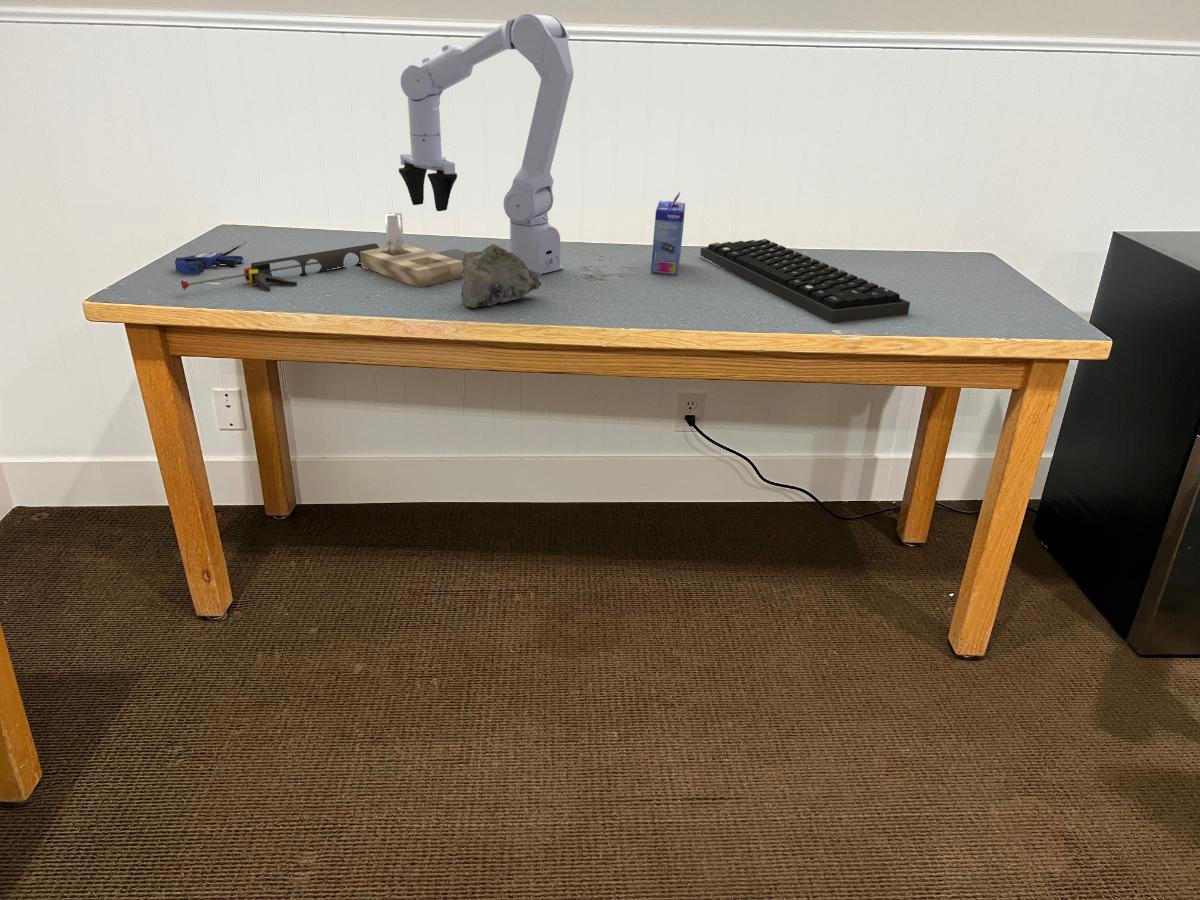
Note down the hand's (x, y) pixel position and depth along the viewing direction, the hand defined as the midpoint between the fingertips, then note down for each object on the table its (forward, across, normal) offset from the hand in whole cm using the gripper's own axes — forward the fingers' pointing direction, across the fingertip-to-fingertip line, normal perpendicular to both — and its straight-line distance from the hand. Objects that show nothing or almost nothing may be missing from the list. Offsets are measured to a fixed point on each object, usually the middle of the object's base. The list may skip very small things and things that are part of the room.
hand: (429, 207), depth 171 cm
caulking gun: (+10, +2, +29) cm, 31 cm away
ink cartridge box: (+10, -38, -28) cm, 48 cm away
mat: (+9, -5, -1) cm, 11 cm away
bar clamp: (+10, +27, +29) cm, 41 cm away
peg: (+9, -4, +11) cm, 15 cm away
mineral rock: (+10, -34, +11) cm, 37 cm away
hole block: (+9, -8, +11) cm, 17 cm away
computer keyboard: (+10, -61, -38) cm, 73 cm away
